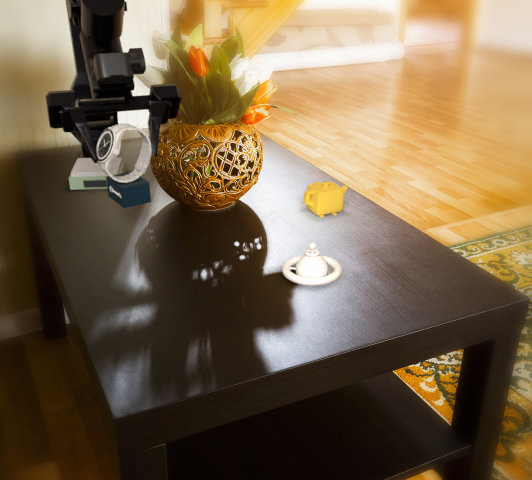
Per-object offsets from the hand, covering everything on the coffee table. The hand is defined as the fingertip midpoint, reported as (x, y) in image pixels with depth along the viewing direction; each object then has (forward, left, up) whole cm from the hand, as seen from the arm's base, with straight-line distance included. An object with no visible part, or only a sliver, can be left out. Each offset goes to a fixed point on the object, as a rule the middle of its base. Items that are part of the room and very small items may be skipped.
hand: (126, 158), depth 90 cm
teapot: (-8, +31, -12) cm, 34 cm away
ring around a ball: (+16, +25, -12) cm, 32 cm away
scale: (-25, -8, -12) cm, 29 cm away
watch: (-1, 0, -7) cm, 7 cm away
